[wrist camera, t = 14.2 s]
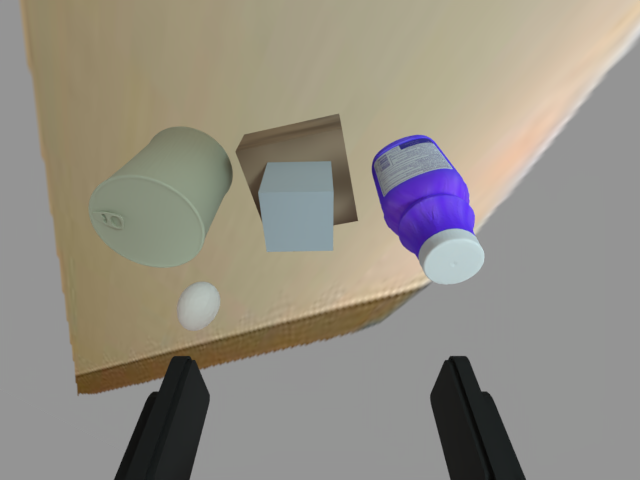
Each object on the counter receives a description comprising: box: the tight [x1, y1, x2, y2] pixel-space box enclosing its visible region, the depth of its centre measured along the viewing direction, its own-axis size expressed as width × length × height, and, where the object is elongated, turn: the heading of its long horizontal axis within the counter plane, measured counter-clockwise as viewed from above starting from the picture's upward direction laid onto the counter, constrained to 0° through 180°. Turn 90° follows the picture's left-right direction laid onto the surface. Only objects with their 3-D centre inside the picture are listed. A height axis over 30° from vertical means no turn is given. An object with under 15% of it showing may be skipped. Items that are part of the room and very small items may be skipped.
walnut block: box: [235, 114, 358, 225], centre depth 35 cm, size 10×10×5 cm
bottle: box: [372, 135, 484, 285], centre depth 29 cm, size 7×6×17 cm
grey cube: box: [258, 161, 334, 252], centre depth 31 cm, size 6×6×6 cm
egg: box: [177, 282, 220, 331], centre depth 44 cm, size 5×5×7 cm
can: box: [89, 126, 233, 268], centre depth 32 cm, size 9×9×12 cm
